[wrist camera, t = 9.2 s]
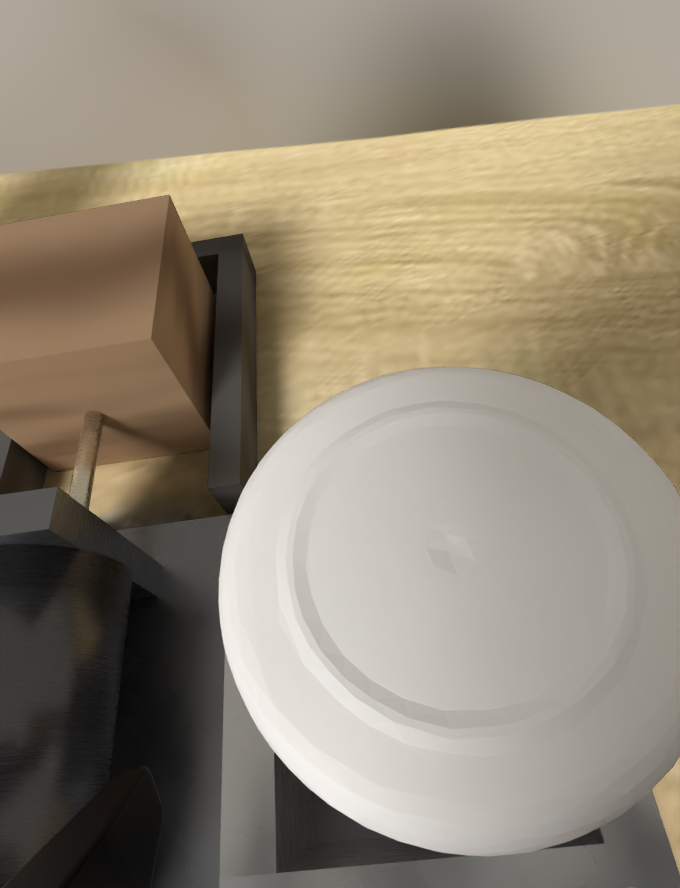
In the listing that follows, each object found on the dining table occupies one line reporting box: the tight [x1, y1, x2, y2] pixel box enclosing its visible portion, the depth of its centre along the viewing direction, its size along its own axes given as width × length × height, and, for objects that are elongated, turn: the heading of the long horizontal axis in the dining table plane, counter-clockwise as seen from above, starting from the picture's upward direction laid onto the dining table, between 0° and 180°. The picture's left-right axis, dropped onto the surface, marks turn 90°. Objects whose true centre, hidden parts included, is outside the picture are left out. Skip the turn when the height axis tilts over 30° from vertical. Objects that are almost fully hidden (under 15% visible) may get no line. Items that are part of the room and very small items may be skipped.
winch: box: [0, 411, 680, 888], centre depth 15 cm, size 19×19×8 cm
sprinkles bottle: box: [219, 367, 680, 857], centre depth 10 cm, size 5×5×14 cm
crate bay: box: [0, 195, 257, 514], centre depth 22 cm, size 14×11×7 cm
